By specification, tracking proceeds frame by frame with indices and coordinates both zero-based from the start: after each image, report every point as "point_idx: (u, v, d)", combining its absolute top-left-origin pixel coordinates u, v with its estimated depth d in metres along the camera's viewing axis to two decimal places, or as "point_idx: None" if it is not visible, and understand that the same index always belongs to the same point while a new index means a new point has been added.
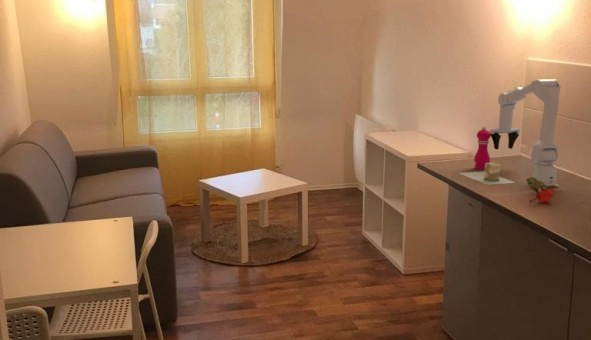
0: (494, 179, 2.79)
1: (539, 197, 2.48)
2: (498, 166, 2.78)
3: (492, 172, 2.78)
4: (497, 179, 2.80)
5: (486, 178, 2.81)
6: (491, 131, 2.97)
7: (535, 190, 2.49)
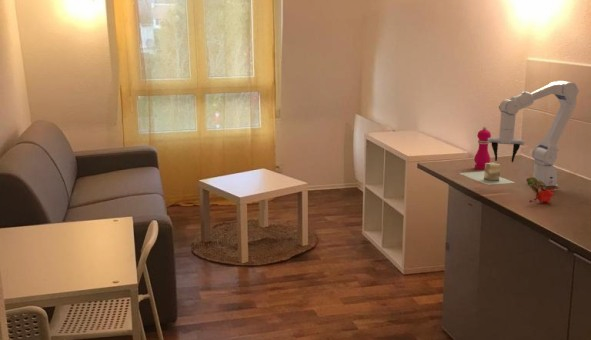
0: (494, 179, 2.79)
1: (539, 197, 2.48)
2: (498, 166, 2.78)
3: (492, 172, 2.78)
4: (497, 179, 2.80)
5: (486, 178, 2.81)
6: None
7: (535, 190, 2.49)
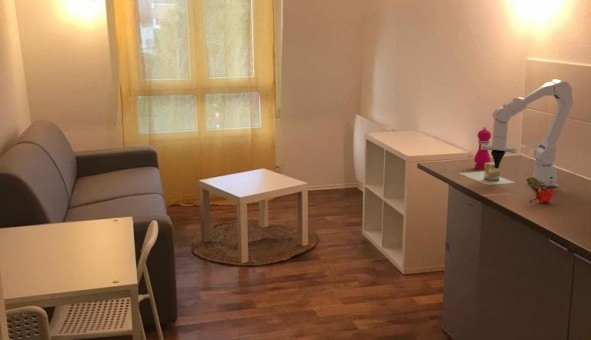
0: (494, 179, 2.79)
1: (539, 197, 2.48)
2: None
3: (492, 171, 2.78)
4: (497, 179, 2.80)
5: (486, 178, 2.81)
6: None
7: (535, 190, 2.49)
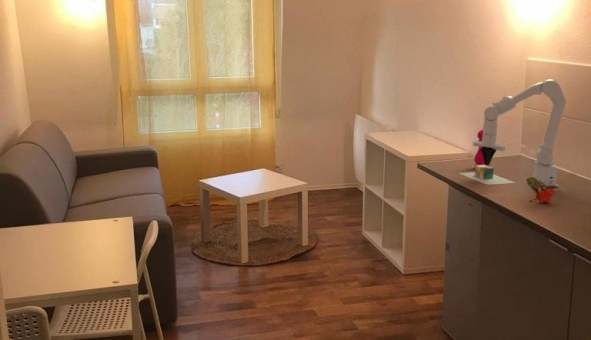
0: (488, 168, 2.83)
1: (539, 197, 2.48)
2: (483, 165, 2.89)
3: (480, 166, 2.86)
4: (491, 168, 2.84)
5: (483, 174, 2.83)
6: None
7: (535, 190, 2.49)
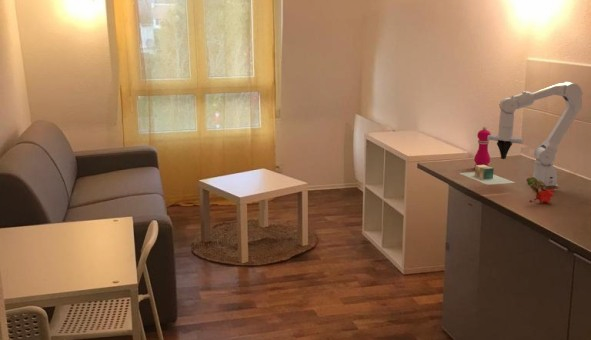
0: (488, 168, 2.83)
1: (539, 197, 2.48)
2: (483, 165, 2.89)
3: (480, 166, 2.86)
4: (491, 168, 2.84)
5: (483, 174, 2.83)
6: None
7: (535, 190, 2.49)
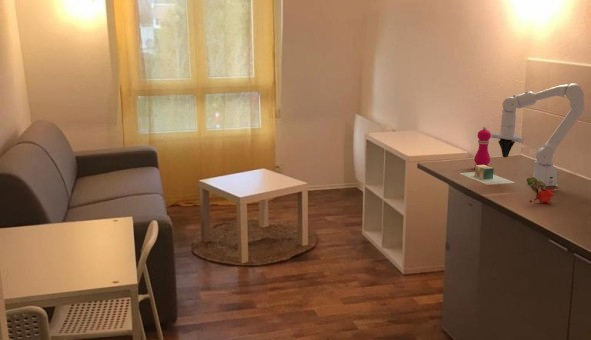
0: (488, 168, 2.83)
1: (539, 197, 2.48)
2: (483, 165, 2.89)
3: (480, 166, 2.86)
4: (491, 168, 2.84)
5: (483, 174, 2.83)
6: None
7: (535, 190, 2.49)
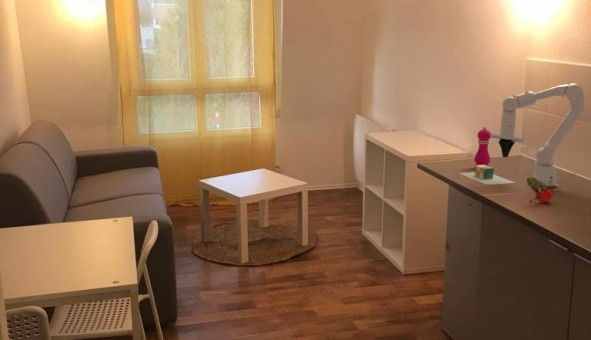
0: (488, 168, 2.83)
1: (539, 197, 2.48)
2: (483, 165, 2.89)
3: (480, 166, 2.86)
4: (491, 168, 2.84)
5: (483, 174, 2.83)
6: None
7: (535, 190, 2.49)
